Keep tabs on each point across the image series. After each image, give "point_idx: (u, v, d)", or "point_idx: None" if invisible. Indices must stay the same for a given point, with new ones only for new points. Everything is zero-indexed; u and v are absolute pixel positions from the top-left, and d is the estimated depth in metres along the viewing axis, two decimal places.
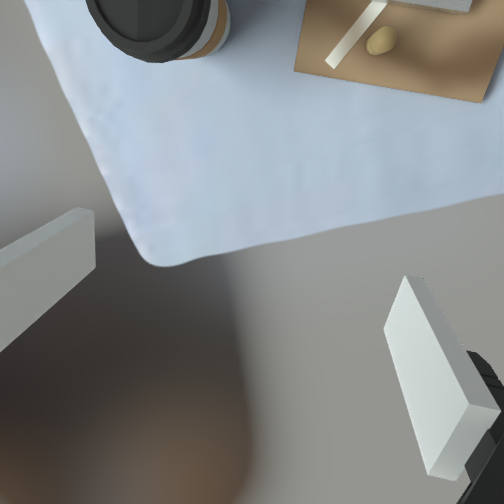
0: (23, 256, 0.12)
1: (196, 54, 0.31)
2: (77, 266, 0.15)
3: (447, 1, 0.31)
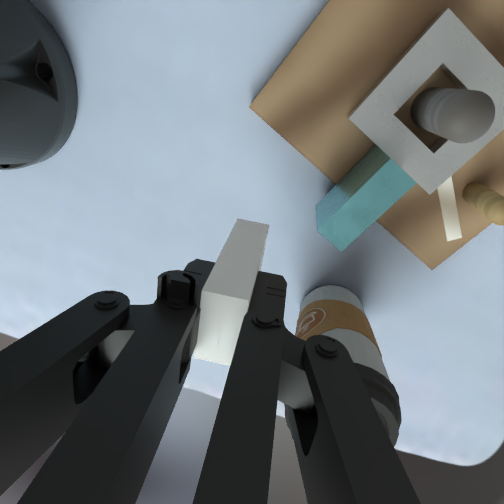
0: None
1: None
2: None
3: None
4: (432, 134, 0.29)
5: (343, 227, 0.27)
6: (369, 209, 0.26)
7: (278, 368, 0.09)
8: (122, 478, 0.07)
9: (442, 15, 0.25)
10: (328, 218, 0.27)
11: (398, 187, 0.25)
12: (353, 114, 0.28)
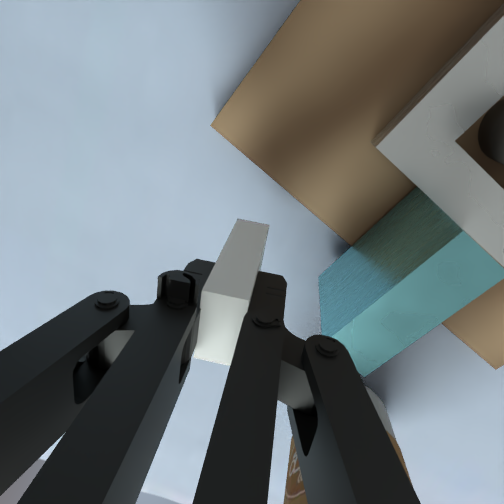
0: None
1: None
2: None
3: None
4: None
5: (369, 341, 0.15)
6: (416, 314, 0.15)
7: (278, 368, 0.09)
8: (122, 478, 0.07)
9: None
10: (342, 324, 0.16)
11: (474, 280, 0.14)
12: (384, 140, 0.16)
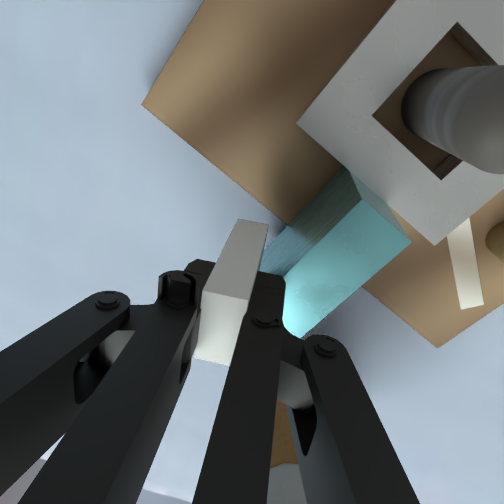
0: None
1: None
2: None
3: None
4: (437, 147, 0.18)
5: (286, 314, 0.16)
6: (328, 285, 0.15)
7: (277, 368, 0.09)
8: (123, 478, 0.07)
9: None
10: None
11: (378, 249, 0.14)
12: (303, 116, 0.16)
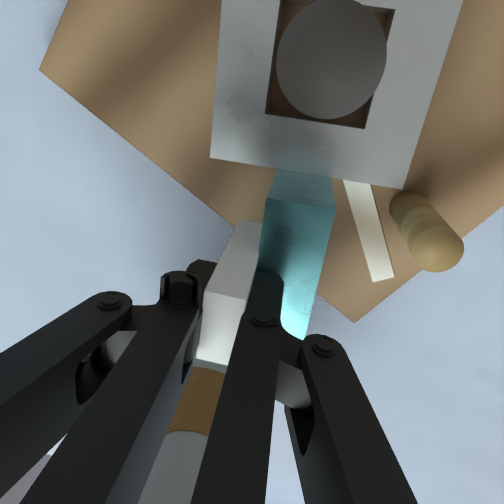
0: None
1: None
2: None
3: (448, 3, 0.14)
4: None
5: None
6: (292, 284, 0.15)
7: (275, 367, 0.09)
8: (124, 479, 0.07)
9: None
10: None
11: (312, 232, 0.14)
12: (212, 148, 0.17)
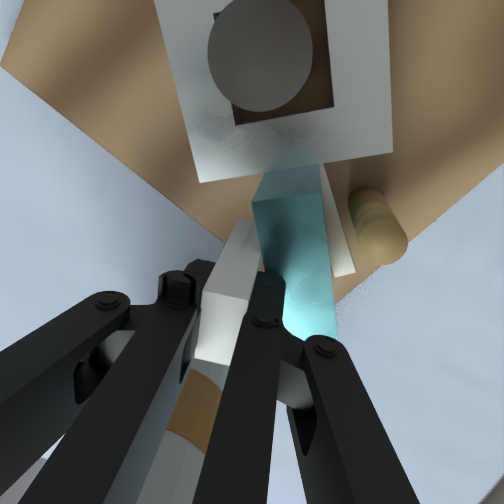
0: None
1: None
2: None
3: None
4: (288, 107, 0.18)
5: (305, 324, 0.15)
6: (305, 278, 0.14)
7: (277, 368, 0.09)
8: (123, 478, 0.07)
9: None
10: None
11: (305, 220, 0.13)
12: (199, 173, 0.18)
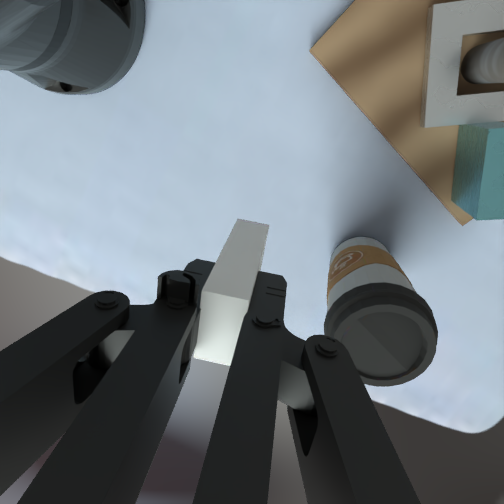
0: None
1: None
2: None
3: None
4: (478, 90, 0.32)
5: (496, 201, 0.29)
6: None
7: (278, 368, 0.09)
8: (122, 478, 0.07)
9: (433, 12, 0.29)
10: (476, 204, 0.30)
11: None
12: (425, 122, 0.32)
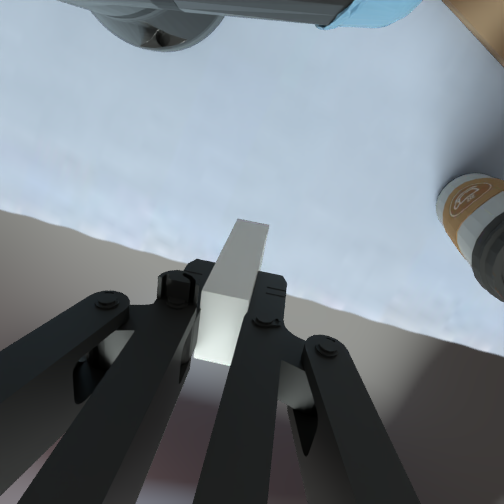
0: None
1: None
2: None
3: None
4: None
5: None
6: None
7: (278, 368, 0.09)
8: (122, 477, 0.07)
9: None
10: None
11: None
12: None
